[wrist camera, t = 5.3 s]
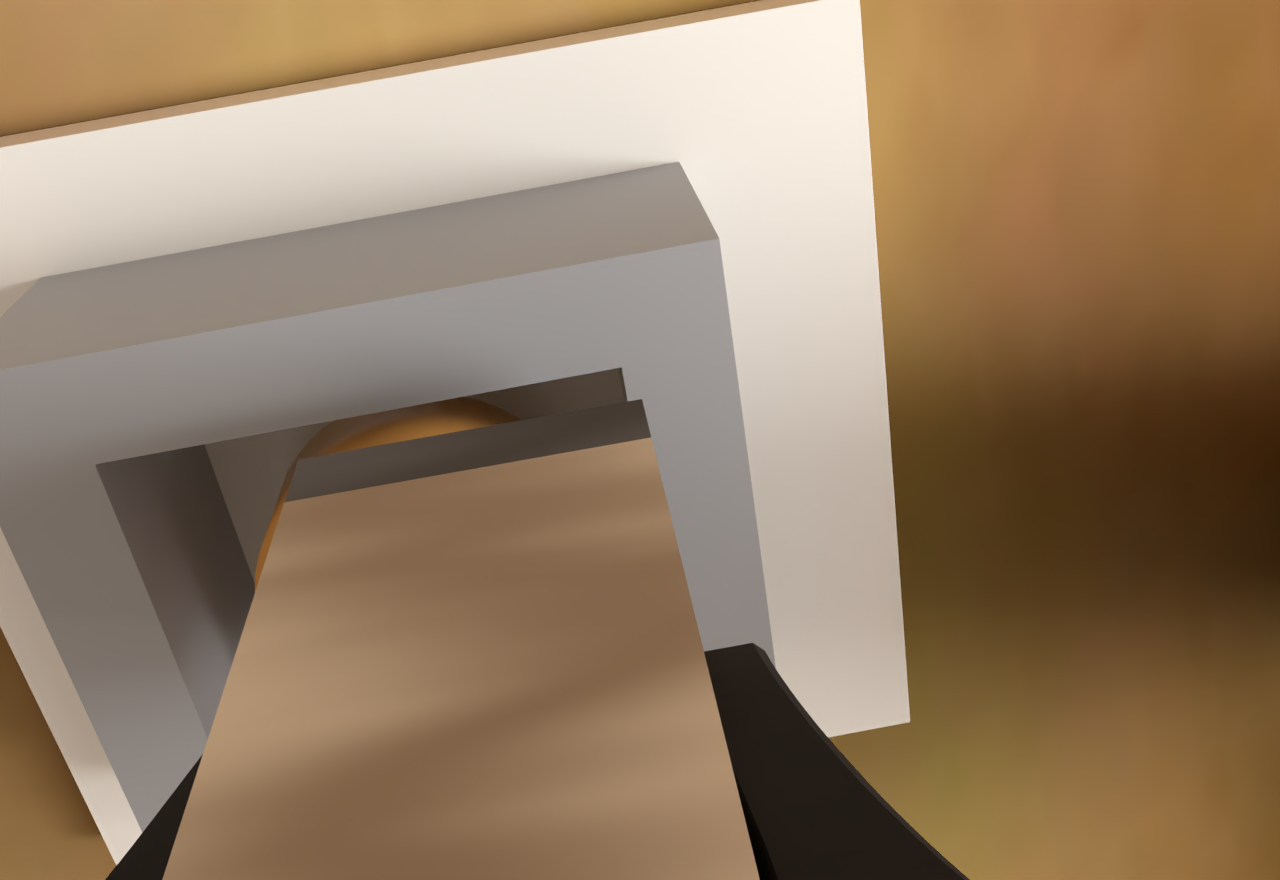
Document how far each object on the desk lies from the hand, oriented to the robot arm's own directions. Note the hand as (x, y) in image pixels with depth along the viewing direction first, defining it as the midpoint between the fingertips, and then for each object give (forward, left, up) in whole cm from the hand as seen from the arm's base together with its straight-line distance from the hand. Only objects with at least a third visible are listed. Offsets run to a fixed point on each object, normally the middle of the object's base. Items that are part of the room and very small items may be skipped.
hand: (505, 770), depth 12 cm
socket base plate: (+2, +2, -10) cm, 11 cm away
